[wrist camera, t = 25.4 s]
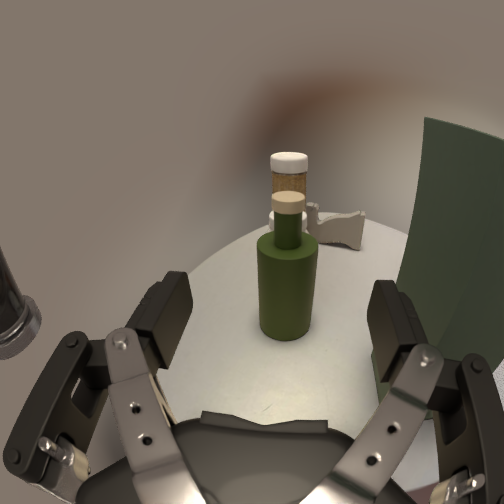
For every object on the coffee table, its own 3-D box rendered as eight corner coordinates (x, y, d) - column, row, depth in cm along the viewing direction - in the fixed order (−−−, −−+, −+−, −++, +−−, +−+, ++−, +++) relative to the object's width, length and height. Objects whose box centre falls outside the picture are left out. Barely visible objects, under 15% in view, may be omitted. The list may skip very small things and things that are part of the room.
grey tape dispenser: (359, 251, 38) (293, 239, 42) (360, 246, 39) (296, 235, 43) (365, 214, 35) (295, 203, 39) (365, 211, 36) (297, 200, 40)
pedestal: (382, 426, 16) (503, 139, 6) (370, 354, 23) (423, 116, 12) (458, 412, 15) (580, 176, 5) (437, 349, 22) (506, 140, 11)
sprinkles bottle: (308, 245, 40) (311, 152, 33) (299, 261, 37) (302, 159, 30) (278, 240, 42) (277, 150, 35) (266, 255, 38) (264, 156, 31)
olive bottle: (256, 339, 25) (250, 207, 19) (262, 304, 30) (258, 185, 23) (310, 342, 25) (324, 209, 18) (309, 306, 29) (318, 186, 22)
